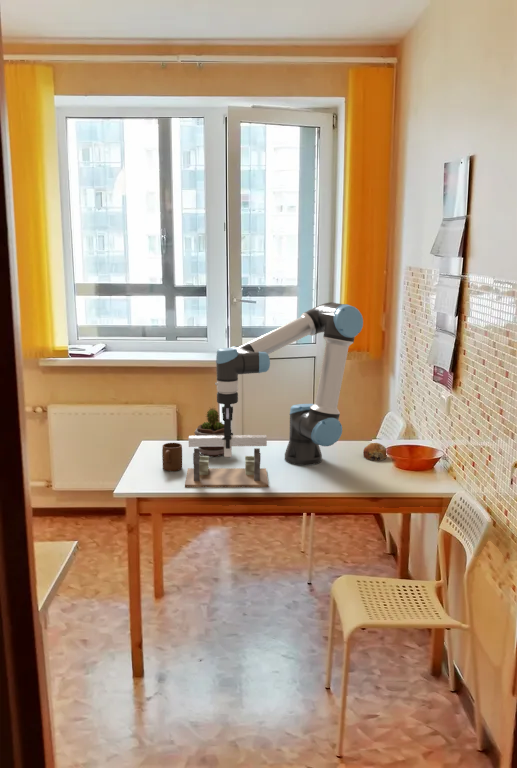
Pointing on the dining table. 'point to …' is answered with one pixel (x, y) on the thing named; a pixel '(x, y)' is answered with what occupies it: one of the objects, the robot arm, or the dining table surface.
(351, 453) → the dining table surface
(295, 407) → the robot arm
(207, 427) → the flowerpot
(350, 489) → the dining table surface
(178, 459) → the mug
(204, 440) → the rail
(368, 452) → the bread roll
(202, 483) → the rack
